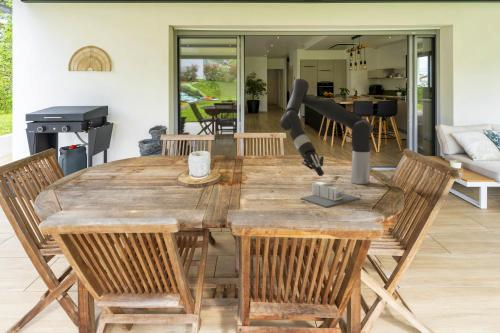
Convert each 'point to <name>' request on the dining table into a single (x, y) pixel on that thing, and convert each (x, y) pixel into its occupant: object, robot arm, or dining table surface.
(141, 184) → the dining table surface
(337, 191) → the syrup box
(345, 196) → the charcoal mat
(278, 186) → the dining table surface
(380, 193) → the dining table surface
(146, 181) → the dining table surface
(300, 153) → the robot arm
